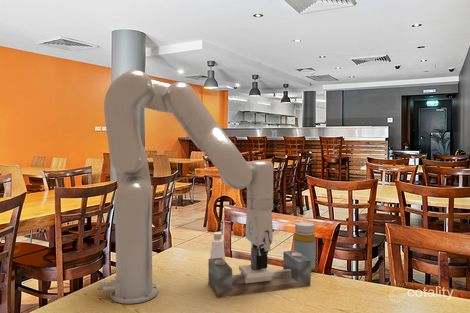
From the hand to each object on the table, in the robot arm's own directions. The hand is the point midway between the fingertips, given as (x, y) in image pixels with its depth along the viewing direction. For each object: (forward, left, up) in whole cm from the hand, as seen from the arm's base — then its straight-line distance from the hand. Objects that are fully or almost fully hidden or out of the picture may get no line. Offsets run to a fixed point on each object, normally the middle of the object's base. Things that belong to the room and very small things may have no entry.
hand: (259, 265), depth 110 cm
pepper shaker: (-7, +20, -6) cm, 22 cm away
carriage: (-1, 0, -4) cm, 4 cm away
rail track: (0, 0, -6) cm, 6 cm away
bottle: (+19, +8, -6) cm, 22 cm away
